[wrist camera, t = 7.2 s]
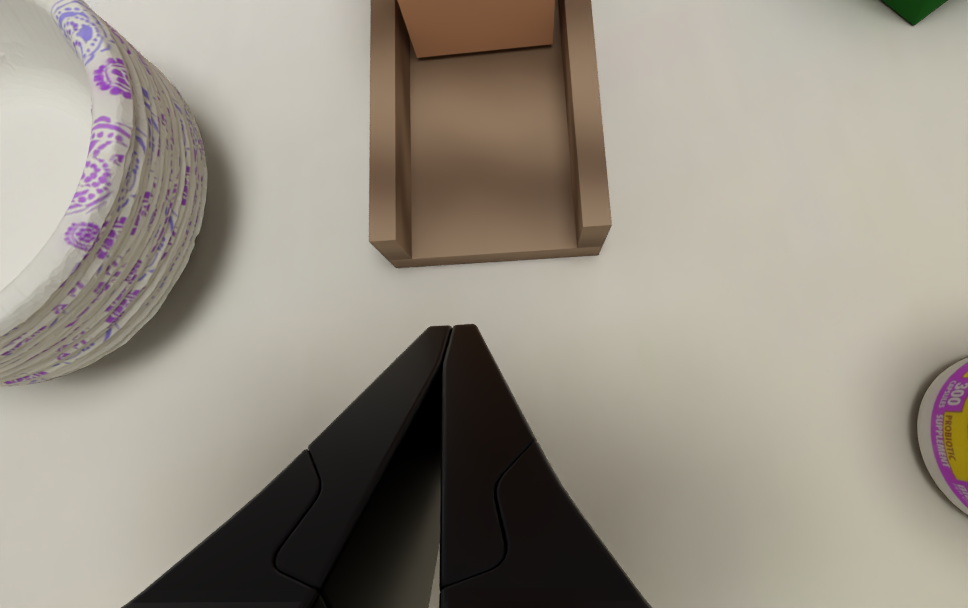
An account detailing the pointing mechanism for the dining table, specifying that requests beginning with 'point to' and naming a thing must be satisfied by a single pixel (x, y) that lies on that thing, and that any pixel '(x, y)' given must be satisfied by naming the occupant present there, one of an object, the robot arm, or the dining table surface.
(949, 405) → the supplement bottle
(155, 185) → the paper bowls
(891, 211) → the dining table surface
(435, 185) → the brown wooden tray
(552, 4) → the block
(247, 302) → the dining table surface
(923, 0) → the milk carton
